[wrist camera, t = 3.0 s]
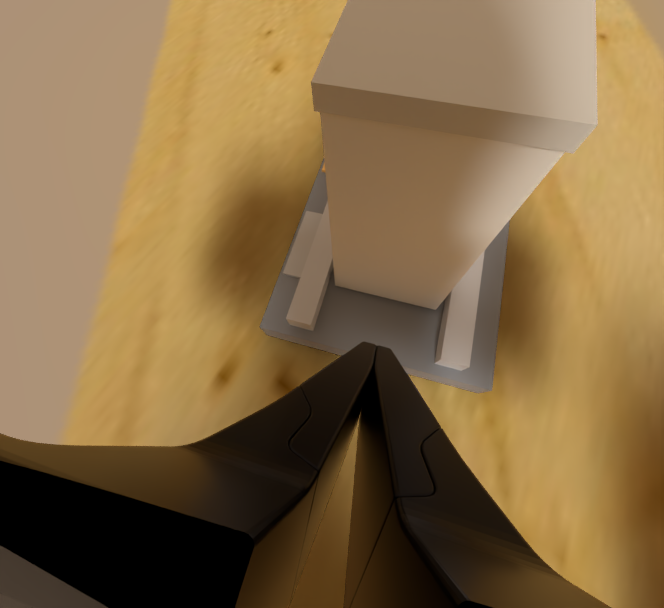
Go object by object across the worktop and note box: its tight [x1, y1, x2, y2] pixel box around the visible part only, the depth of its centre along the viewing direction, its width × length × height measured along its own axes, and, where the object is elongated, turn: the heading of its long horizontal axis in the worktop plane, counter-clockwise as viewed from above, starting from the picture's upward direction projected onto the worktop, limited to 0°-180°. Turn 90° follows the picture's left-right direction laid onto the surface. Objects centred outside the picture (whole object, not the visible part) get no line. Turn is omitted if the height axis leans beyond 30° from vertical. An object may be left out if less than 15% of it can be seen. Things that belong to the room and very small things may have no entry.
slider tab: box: [311, 0, 597, 310], centre depth 11 cm, size 4×5×10 cm
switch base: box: [260, 159, 510, 393], centre depth 17 cm, size 16×11×3 cm
